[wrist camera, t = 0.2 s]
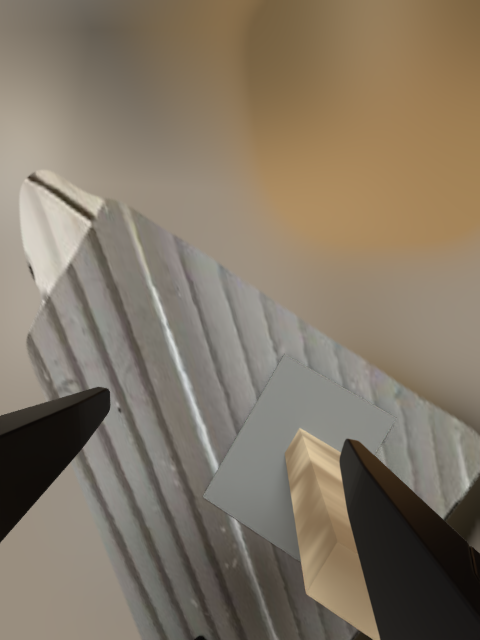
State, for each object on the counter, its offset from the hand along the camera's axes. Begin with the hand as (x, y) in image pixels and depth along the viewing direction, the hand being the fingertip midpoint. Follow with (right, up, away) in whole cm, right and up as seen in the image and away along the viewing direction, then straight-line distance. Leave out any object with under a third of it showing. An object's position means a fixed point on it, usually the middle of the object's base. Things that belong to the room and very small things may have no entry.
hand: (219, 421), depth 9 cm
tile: (+9, -10, +14) cm, 19 cm away
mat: (+6, -10, +15) cm, 19 cm away
